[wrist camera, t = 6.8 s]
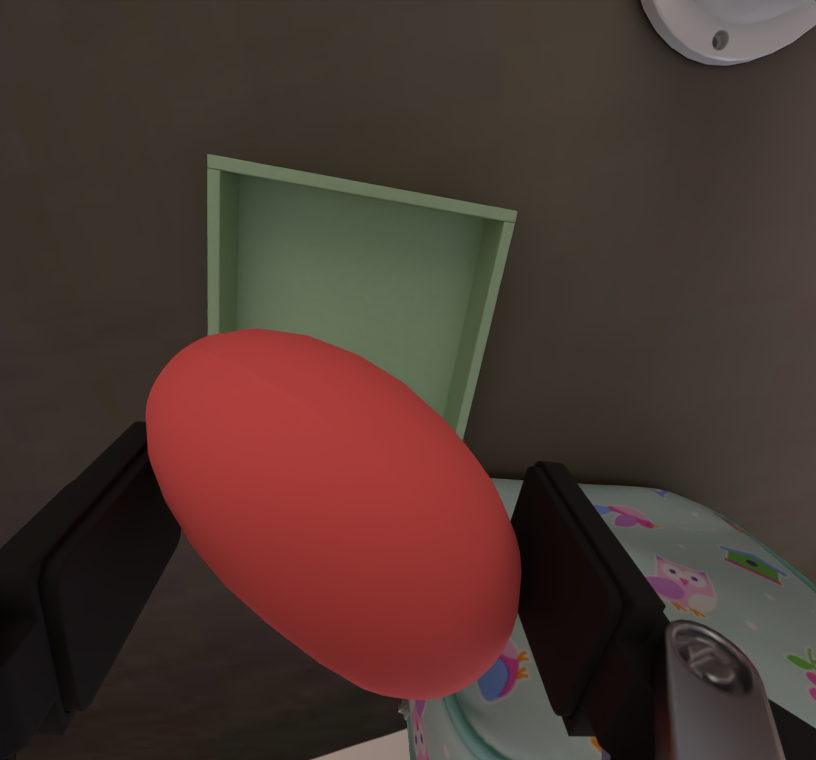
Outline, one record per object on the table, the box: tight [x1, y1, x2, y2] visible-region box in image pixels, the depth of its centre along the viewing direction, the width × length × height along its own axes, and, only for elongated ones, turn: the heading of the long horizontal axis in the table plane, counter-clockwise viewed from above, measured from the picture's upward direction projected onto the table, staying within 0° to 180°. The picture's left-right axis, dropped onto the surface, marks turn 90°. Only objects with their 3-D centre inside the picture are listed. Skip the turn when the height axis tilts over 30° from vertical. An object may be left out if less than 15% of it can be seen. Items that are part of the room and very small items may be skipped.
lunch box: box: [398, 478, 816, 760], centre depth 25 cm, size 27×10×21 cm, turn 82°
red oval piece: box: [145, 328, 522, 700], centre depth 9 cm, size 5×9×6 cm, turn 23°
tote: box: [207, 154, 517, 441], centre depth 25 cm, size 15×15×4 cm
